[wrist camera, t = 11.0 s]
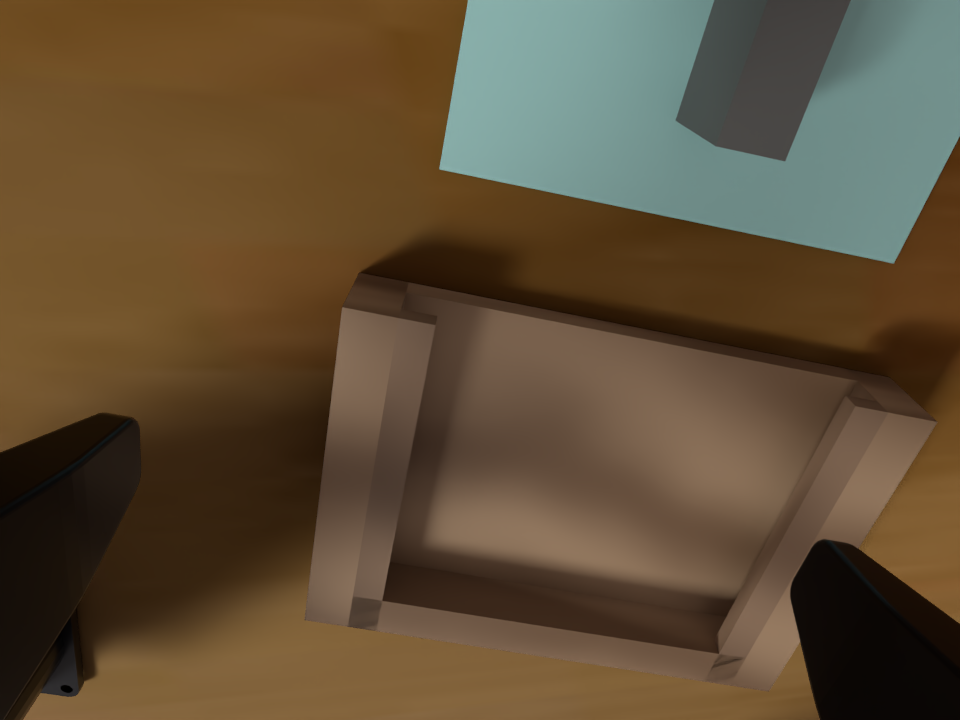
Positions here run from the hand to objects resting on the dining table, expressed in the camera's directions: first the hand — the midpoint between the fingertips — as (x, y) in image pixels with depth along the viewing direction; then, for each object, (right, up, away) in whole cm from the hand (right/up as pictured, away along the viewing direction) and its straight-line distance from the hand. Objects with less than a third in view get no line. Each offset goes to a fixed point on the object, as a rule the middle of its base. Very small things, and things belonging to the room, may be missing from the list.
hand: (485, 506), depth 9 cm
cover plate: (+6, +11, +9) cm, 15 cm away
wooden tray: (+3, -2, +15) cm, 15 cm away
